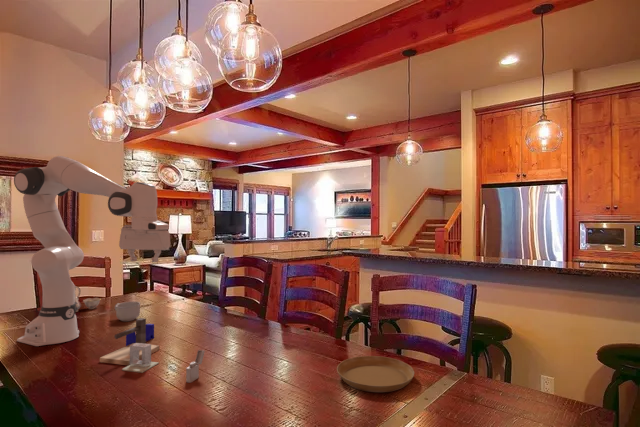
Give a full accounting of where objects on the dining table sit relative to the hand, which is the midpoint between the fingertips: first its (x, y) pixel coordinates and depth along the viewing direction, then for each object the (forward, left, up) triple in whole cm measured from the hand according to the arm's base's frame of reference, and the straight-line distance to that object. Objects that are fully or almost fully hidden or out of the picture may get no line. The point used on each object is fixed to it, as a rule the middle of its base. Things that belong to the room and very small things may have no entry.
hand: (144, 261), depth 141 cm
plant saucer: (+87, -1, -35) cm, 94 cm away
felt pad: (+9, -12, -34) cm, 37 cm away
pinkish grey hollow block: (+9, -12, -34) cm, 37 cm away
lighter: (+32, -15, -34) cm, 49 cm away
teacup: (-41, +37, -34) cm, 65 cm away
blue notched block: (-10, +10, -34) cm, 37 cm away
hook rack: (-2, -4, -34) cm, 34 cm away
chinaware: (-79, +42, -34) cm, 96 cm away
